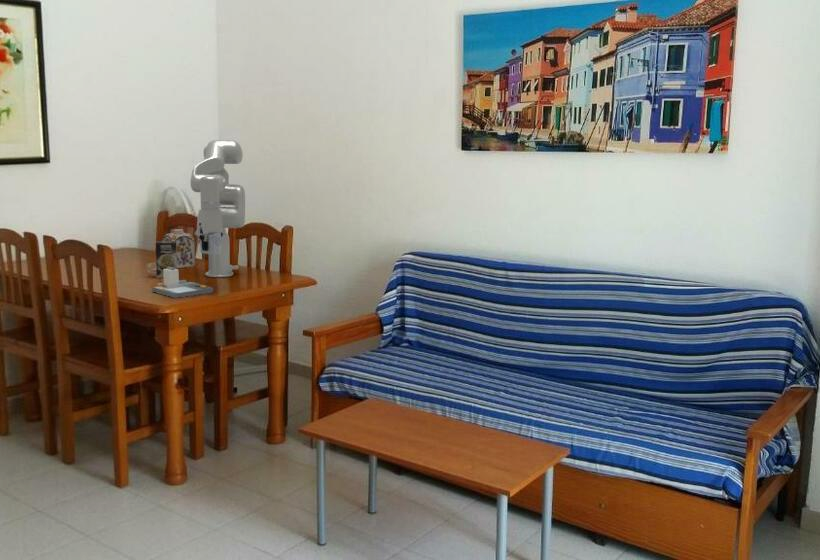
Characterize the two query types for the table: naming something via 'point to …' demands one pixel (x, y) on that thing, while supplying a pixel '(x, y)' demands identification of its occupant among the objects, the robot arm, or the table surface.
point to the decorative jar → (183, 247)
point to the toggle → (171, 276)
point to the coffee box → (165, 256)
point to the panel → (182, 289)
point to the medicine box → (213, 244)
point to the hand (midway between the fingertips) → (210, 249)
